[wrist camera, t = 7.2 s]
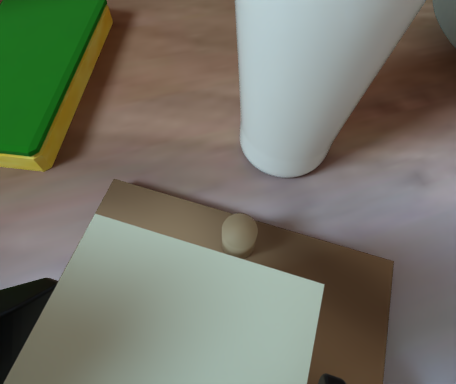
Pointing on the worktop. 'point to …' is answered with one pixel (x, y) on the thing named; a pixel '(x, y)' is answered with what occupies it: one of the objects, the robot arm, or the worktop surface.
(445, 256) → the worktop surface
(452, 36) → the cake pan
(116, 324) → the sage block
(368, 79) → the drinking glass
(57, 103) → the dish sponge
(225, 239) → the peg stand
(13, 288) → the robot arm
